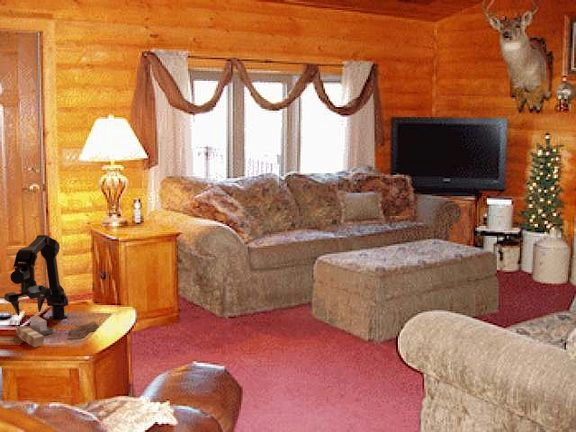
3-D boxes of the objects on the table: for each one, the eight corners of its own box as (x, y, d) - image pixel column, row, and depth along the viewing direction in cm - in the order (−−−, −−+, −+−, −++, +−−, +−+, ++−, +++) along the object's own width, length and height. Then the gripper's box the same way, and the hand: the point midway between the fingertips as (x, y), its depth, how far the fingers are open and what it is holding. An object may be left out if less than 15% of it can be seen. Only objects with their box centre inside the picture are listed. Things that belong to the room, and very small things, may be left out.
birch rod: (16, 337, 315) (16, 327, 314) (25, 335, 317) (25, 325, 317) (34, 347, 302) (34, 337, 301) (43, 345, 304) (43, 335, 304)
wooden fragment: (80, 341, 310) (80, 338, 310) (57, 339, 313) (57, 336, 313) (107, 323, 335) (107, 321, 335) (86, 322, 338) (86, 319, 338)
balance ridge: (24, 330, 323) (23, 317, 322) (41, 326, 328) (41, 314, 327) (35, 336, 314) (35, 323, 313) (53, 333, 320) (52, 320, 319)
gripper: (13, 285, 293) (15, 322, 295) (56, 278, 306) (58, 313, 308) (2, 280, 301) (4, 316, 304) (45, 273, 314) (46, 308, 316)
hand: (29, 313), depth 308 cm, fingers open, 9 cm apart
